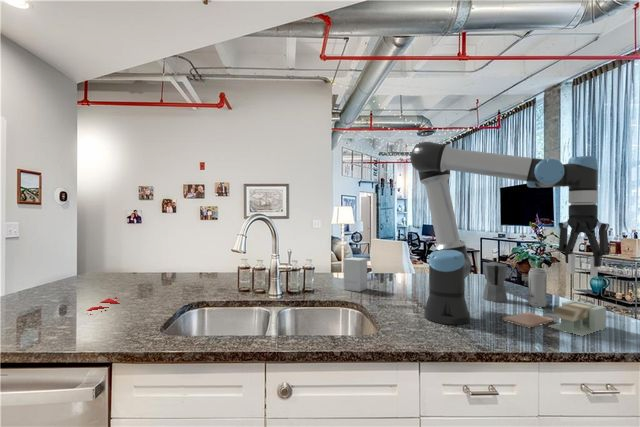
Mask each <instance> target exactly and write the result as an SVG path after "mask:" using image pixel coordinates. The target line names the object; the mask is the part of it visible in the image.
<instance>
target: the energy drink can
mask: <svg viewBox="0 0 640 427" xmlns="http://www.w3.org/2000/svg"><path fill="white" fill-rule="evenodd" d="M547 277H548V276H547V272H546V269H545V268H542V267H530V268H529V271H528V294H527V295H528V298H527V299H528V304H529V306H530V305H531V306H534V307H533V308H535V307H545V308H546V306H547ZM531 306H530V307H531Z"/></svg>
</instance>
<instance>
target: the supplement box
mask: <svg viewBox="0 0 640 427" xmlns="http://www.w3.org/2000/svg"><path fill="white" fill-rule="evenodd" d="M367 289H368V258H367V257H365V258H364V257H355V256H354V257H352V256H351V257H347V258H343V290H344V291H350V292H351V291H352V292H359V293H360V292H362V291H364V290H367Z"/></svg>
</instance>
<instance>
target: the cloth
mask: <svg viewBox="0 0 640 427" xmlns="http://www.w3.org/2000/svg"><path fill="white" fill-rule="evenodd" d="M117 297H118V296H115V297H114V298H113V299H119V298H117ZM113 299H112V298H111V297H108V298H106V299H104V300H101V301H100V302H99V303H110V304H120V303H118V302H117V301H114V300H113ZM104 308H109V307H102V306H99V307H94V306H92V307H90V308H88V309H86V311H92V310H98V309H104Z"/></svg>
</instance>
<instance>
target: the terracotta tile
mask: <svg viewBox="0 0 640 427" xmlns="http://www.w3.org/2000/svg"><path fill="white" fill-rule="evenodd" d="M503 320H506V321H510V322H513V323H517V324H520V325H523V326H527V327H533V326H536V327H538V326H537V325H540V324H544V323H548V322H552V321H554V322H555V320H554V318H550V317H547V316H545V315H540V314H536V313H531V312H528V311H527V312H522V313H518V314H513V315H509V316H504V317H502V321H503ZM506 321H505V322H506ZM513 323H512V324H513ZM552 323H553V322H552ZM548 324H549V323H548ZM544 325H545V324H544ZM523 326H522V327H523ZM540 326H541V325H540ZM533 328H534V327H533Z"/></svg>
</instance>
